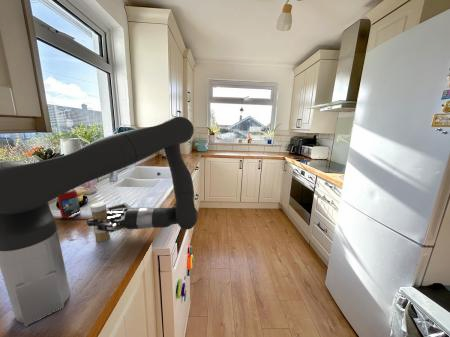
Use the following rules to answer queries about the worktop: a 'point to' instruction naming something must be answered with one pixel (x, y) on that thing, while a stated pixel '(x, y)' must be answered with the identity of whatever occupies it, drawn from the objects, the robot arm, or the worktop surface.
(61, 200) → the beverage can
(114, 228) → the socket board
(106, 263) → the worktop surface
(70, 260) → the worktop surface
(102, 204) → the sprinkles bottle
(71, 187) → the robot arm
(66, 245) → the worktop surface
